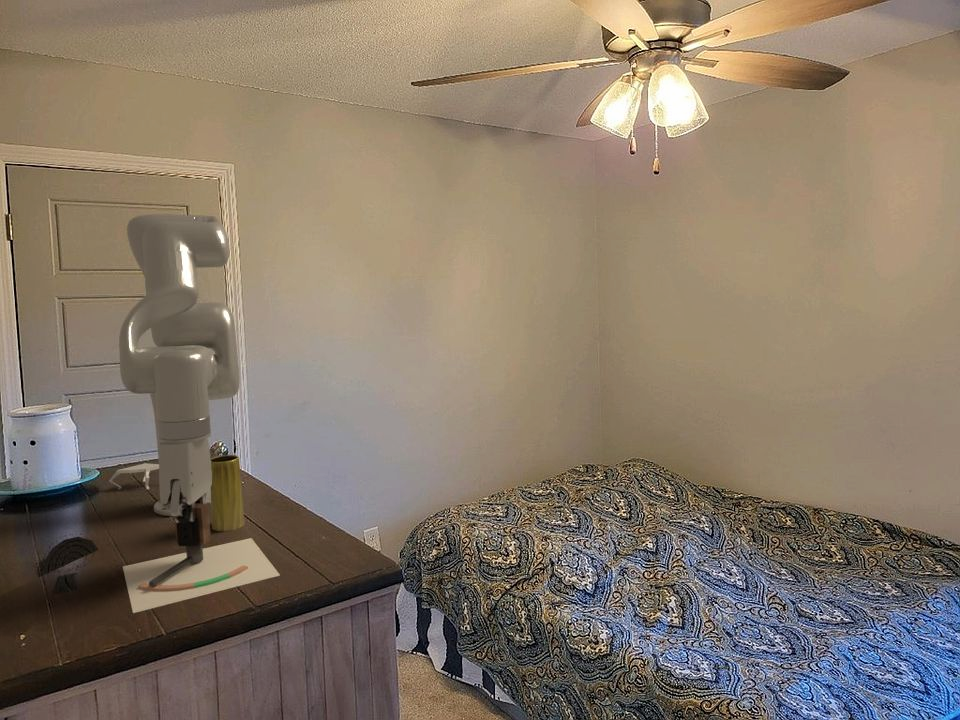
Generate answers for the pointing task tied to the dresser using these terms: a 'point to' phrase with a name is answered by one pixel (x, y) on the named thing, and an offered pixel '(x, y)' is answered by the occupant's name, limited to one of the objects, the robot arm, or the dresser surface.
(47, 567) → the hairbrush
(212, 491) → the vase
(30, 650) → the dresser surface
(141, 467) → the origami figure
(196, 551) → the tuner needle gauge
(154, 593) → the board
